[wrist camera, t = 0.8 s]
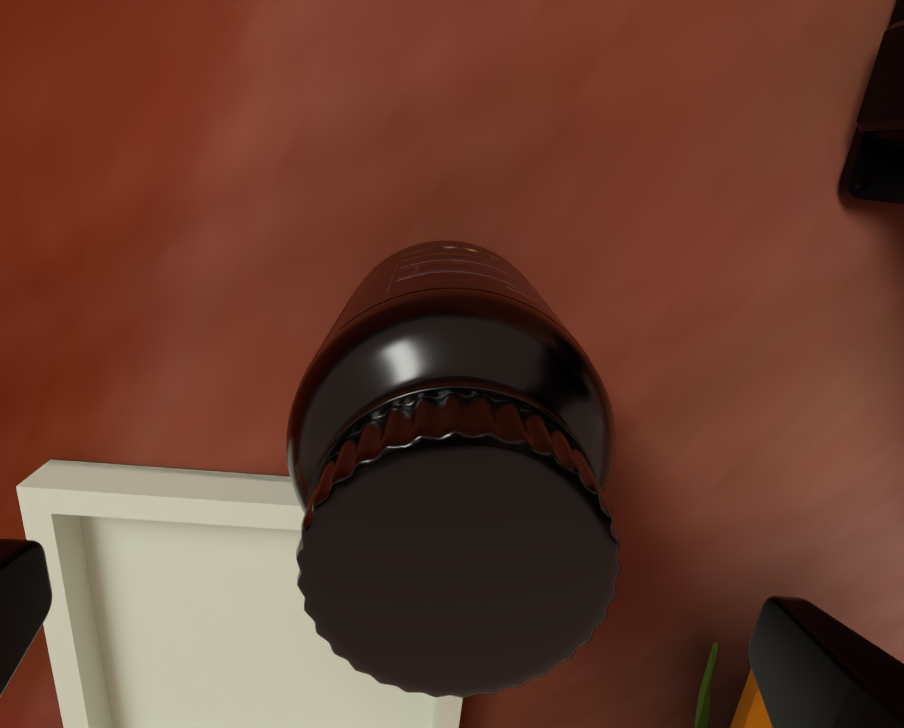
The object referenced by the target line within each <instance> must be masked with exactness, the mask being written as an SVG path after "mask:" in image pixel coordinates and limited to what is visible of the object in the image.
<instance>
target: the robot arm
mask: <svg viewBox="0 0 904 728" xmlns="http://www.w3.org/2000/svg"><path fill="white" fill-rule="evenodd" d="M861 175H862V176H863V177H864V181H863V184H862V185H861V187H860V188H858V189H857V187H856V181H857V179H858V177H859V176H861ZM839 188H840V191H841V193H842V194H843V195H844V196H845V197H848V198H854V199H864V200H874V201H883V202H893V203H903V204H904V0H897V2H896V5H895V8H894V11H893V14H892V17H891V20H890V24H889V27H888V29H887V30H886V31H885V33H884V36H883V39H882V42H881V45H880V48H879V51H878V55H877V58H876V61H875V64H874V67H873V70H872V74H871V77H870V80H869V83H868V86H867V89H866V93H865V96H864V99H863V102H862V105H861V108H860V112H859V115H858V118H857V128H856V131H855V134H854V137H853V140H852V144H851V147H850V150H849V153H848V156H847V159H846V163H845V166H844V169H843V172H842V175H841V178H840V184H839ZM51 603H52V588H51V583H50V578H49V572H48V567H47V562H46V556H45V551H44V548H43V547H42V545H41V544H40V543H39V542H36V541H33V540H21V539H0V697H1V695H2V693H3V692H4V690H5V688H6V686H7V685H8V683H9V681H10V679H11V678H12V676H13V674H14V673H15V671H16V669H17V667H18V666H19V664H20V662H21V660H22V659H23V657H24V655H25V654H26V652H27V650H28V648H29V647H30V645H31V643H32V641H33V640H34V638H35V636H36V635H37V633H38V631H39V629H40V628H41V626H42V624H43V622H44V621H45V619H46V617H47V615H48V613H49V610H50V608H51ZM748 656H749V662H750V666H751V669H752V671H753V674H754V677H755V680H756V683H757V685H758V688H759V691H760V694H761V697H762V700H763V702H764V705H765V708H766V711H767V714H768V716H769V719H770V722H771V725H772V728H904V664H903V663H902V662H900V661H899V660H897V659H896V658H894V657H893V656H891V655H889V654H888V653H886V652H885V651H883V650H882V649H880V648H879V647H877V646H876V645H874V644H873V643H871V642H870V641H868V640H867V639H865V638H864V637H862V636H861V635H859V634H857V633H856V632H854V631H853V630H851V629H850V628H848V627H847V626H845V625H844V624H842V623H841V622H839V621H838V620H836V619H835V618H833V617H832V616H830V615H829V614H827V613H826V612H824V611H822V610H821V609H819V608H818V607H816V606H815V605H813V604H812V603H810V602H809V601H807V600H805V599H802V598H797V597H783V596H772V597H769V598H768V599H767V600H766V601H765V602H764V604H763V607H762V609H761V612H760V615H759V618H758V620H757V623H756V626H755V628H754V631H753V634H752V636H751V639H750V642H749V648H748Z"/></svg>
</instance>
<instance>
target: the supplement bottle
mask: <svg viewBox="0 0 904 728" xmlns="http://www.w3.org/2000/svg"><path fill="white" fill-rule="evenodd" d="M286 452H287V463H288V469H289V474H290V479H291V482H292V485H293V488H294V491H295V495H296V497H297V499H298V502H299V504H300V506H301V508H302V510H303V512H304V514H305V515H304V518H303V521H302V525H301V534H302V535H301V538H300V541H299V544H298V547H297V550H296V560H297V563H298V566H299V569H300V570H299V573H298V577H297V586H298V587H299V589H300V591H301V593H302V594H303V596H304V597H305V598H304V611H305V612H306V613H307V614H308V615H309V616H310V617H311V618H312V619H313V620H314V622H315V629H316V633H317V634H318V635H319V636H321V637H322V638H323V639H325V640H326V641H328V642H329V644H330V646H331V649H332V651H333V653H334V654H336V655H337V656H339V657H341V658H343V659H346V660H348V662H349V663H350V664H351V666H352V667H353V668H354V669H355V671H358V672H361V673H365V674H368V675H371V676H372V677H373V678H374V679H375V680H376V681H377V682H379V683H380V684H386V685H393V686H396V687H398V688H400V689H401V690H403V691H405V692H407V693H425V694H428V695H430V696H433V697H442V696H449V695H451V696H456V697H461V698H466V697H470V696H473V695H476V694H495V693H497V692H499V691H501V690H503V689H505V688H512V687H521V686H522V685H524V684H525V683H527V682H528V681H529V680H531V679H532V678H536V677H540V676H544V675H547V674H548V673H549V672H550V671H551V670H552V669H553V668H554V667H555V666H556V665H558V664H560V663H563V662H565V661H567V660H570V659H571V657H572V656H573V655H574V653H575V651H576V650H577V648H579V647H580V646H582V645H584V644H586V643H587V642H589V641H590V640H591V638H592V635H593V632H594V629H595V628H596V627H598V626H599V625H600V624H601V623H602V622H603V621H604V620H605V619H606V615H607V606H608V605H609V604H610V603H611V601H612V600H613V599H614V597H615V596H616V587H615V581H616V579H617V577H618V575H619V573H620V571H621V564H620V561H619V558H618V555H617V554H618V551H619V546H620V538H619V535H618V532H617V530H616V528H615V526H614V524H613V514H612V510H611V507H610V505H609V503H608V501H607V499H606V497H605V493H606V491H607V488H608V485H609V482H610V478H611V474H612V470H613V465H614V457H615V426H614V418H613V413H612V408H611V404H610V401H609V398H608V395H607V391H606V389H605V387H604V385H603V382H602V380H601V378H600V376H599V374H598V372H597V371H596V369H595V367H594V366H593V364H592V362H591V361H590V359H589V357H588V356H587V354H586V353H585V352H584V350H583V349H582V348H581V346H580V345H579V344H578V342H577V341H576V340H575V339H574V337H573V336H572V335H571V334H570V332H569V331H568V330H567V329H566V327H565V326H564V325H563V324H562V322H561V321H560V320H559V319H558V317H557V316H556V315H555V314H554V312H553V311H552V310H551V309H550V307H549V306H548V305H547V304H546V303H545V301H544V300H543V299H542V298H541V296H540V295H539V294H538V293H537V291H536V290H535V289H534V288H533V286H532V285H531V284H530V283H529V281H528V280H527V279H526V278H525V277H524V276H523V275H522V274H521V273H520V272H519V271H518V270H517V269H516V268H515V267H514V266H513V265H511V264H510V263H509V262H508V261H506V260H505V259H503V258H502V257H500V256H498V255H497V254H495V253H493V252H491V251H489V250H487V249H484V248H482V247H479V246H476V245H473V244H469V243H464V242H458V241H432V242H426V243H420V244H417V245H414V246H410V247H408V248H405V249H403V250H400V251H399V252H397V253H395V254H393V255H391V256H390V257H388V258H387V259H385V260H384V261H382V262H381V263H380V264H378V265H377V266H376V267H375V268H374V269H373V270H372V271H371V272H370V273H369V274H368V275H367V276H366V277H365V278H364V280H363V281H362V282H361V283H360V285H359V286H358V288H357V289H356V291H355V292H354V293H353V295H352V296H351V299H350V300H349V301H348V303H347V305H346V306H345V308H344V309H343V311H342V313H341V314H340V316H339V318H338V319H337V321H336V322H335V324H334V326H333V327H332V329H331V331H330V332H329V334H328V335H327V337H326V339H325V340H324V342H323V344H322V345H321V347H320V348H319V350H318V352H317V353H316V355H315V357H314V358H313V360H312V362H311V363H310V365H309V367H308V368H307V370H306V372H305V374H304V376H303V378H302V380H301V383H300V385H299V387H298V390H297V393H296V395H295V398H294V401H293V403H292V407H291V411H290V415H289V420H288V427H287V444H286Z"/></svg>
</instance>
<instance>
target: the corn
mask: <svg viewBox="0 0 904 728" xmlns="http://www.w3.org/2000/svg"><path fill="white" fill-rule="evenodd" d="M718 646H719V644H718V643H717V642H715V643H714V644H713V645H712V649H711V652H710V656H709V659H708V663H707V666H706V670H705V673H704V677H703V680H702V684H701V687H700V691H699V694H698V701H697V709H696V717H695V725H694V728H707V726H708V719H709V711H710V696H711V680H712V676H713V671H714V666H715V662H716V657H717V652H718ZM730 728H772V725H771V722H770V719H769V716H768V714H767V711H766V708H765V705H764V702H763V700H762V697H761V694H760V691H759V688H758V685H757V683H756V680H755V677H754V674H753V671H752V669H751V670H750V673H749V676H748V679H747V681H746V684H745V687H744V690H743V692H742V695H741V698H740V701H739V703H738V706H737V709H736V712H735V715H734V717H733V720H732V723H731V726H730Z"/></svg>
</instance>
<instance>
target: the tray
mask: <svg viewBox="0 0 904 728" xmlns="http://www.w3.org/2000/svg"><path fill="white" fill-rule="evenodd" d="M16 488H17V493H18V499H19V504H20V509H21V514H22V519H23V524H24V529H25V534H26V539H27V540H33V541H36V542H39V543H40V544H41V545H42V547H43V548H44V551H45V556H46V562H47V567H48V572H49V578H50V583H51V588H52V603H51V608H50V610H49V613H48V615H47V617H46V619H45V621H44V622H43V625H44V630H45V635H46V640H47V646H48V651H49V656H50V661H51V666H52V671H53V676H54V681H55V686H56V691H57V696H58V701H59V706H60V711H61V716H62V722H63V727H64V728H459V722H460V714H461V707H462V700H463V698H461V697H456V696H451V695H449V696H442V697H433V696H430V695H428V694H425V693H407V692H405V691H403V690H401V689H400V688H398V687H396V686H393V685H386V684H380V683H379V682H377V681H376V680H375V679H374V678H373V677H372V676H371V675H368V674H365V673H361V672H358V671H355V669H354V668H353V667H352V666H351V664H350V663H349V662H348V660H346V659H343V658H341V657H339V656H337V655H336V654H334V653H333V651H332V649H331V646H330V644H329V642H328V641H326V640H325V639H323V638H322V637H321V636H319V635H318V634H317V633H316V629H315V622H314V620H313V619H312V618H311V617H310V616H309V615H308V614H307V613H306V612H305V611H304V598H305V597H304V596H303V594H302V593H301V591H300V589H299V587H298V586H297V577H298V573H299V570H300V569H299V566H298V563H297V560H296V550H297V547H298V544H299V541H300V538H301V535H302V534H301V525H302V521H303V518H304V515H305V514H304V512H303V510H302V508H301V506H300V504H299V502H298V499H297V497H296V495H295V491H294V488H293V485H292V482H291V479H290V477H287V476H273V475H259V474H246V473H232V472H218V471H204V470H190V469H176V468H162V467H148V466H135V465H121V464H107V463H93V462H79V461H65V460H49V461H48V462H47V463H46V464H44V465H43V466H42V467H40V468H39V469H38V470H37V471H35V472H34V473H33V474H31V475H30V476H29V477H28V478H26V479H25V480H24V481H22V482H21V483H20V484H19V485H17V486H16Z"/></svg>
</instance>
